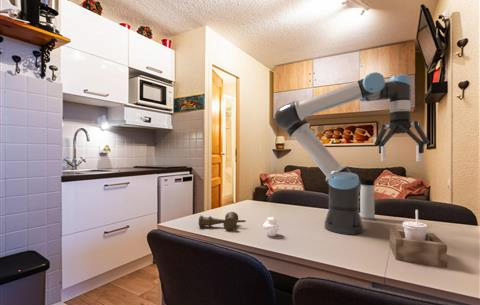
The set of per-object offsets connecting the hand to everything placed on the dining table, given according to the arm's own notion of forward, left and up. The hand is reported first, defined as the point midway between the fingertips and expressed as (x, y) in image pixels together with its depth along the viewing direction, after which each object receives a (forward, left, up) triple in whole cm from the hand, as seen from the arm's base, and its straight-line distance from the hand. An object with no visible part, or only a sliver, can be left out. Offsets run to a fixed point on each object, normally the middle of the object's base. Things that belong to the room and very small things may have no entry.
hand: (400, 161), depth 105 cm
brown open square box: (-1, -33, -29) cm, 44 cm away
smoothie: (-1, -33, -29) cm, 44 cm away
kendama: (-69, -32, -29) cm, 81 cm away
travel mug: (-12, +13, -29) cm, 34 cm away
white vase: (-47, -33, -29) cm, 64 cm away
